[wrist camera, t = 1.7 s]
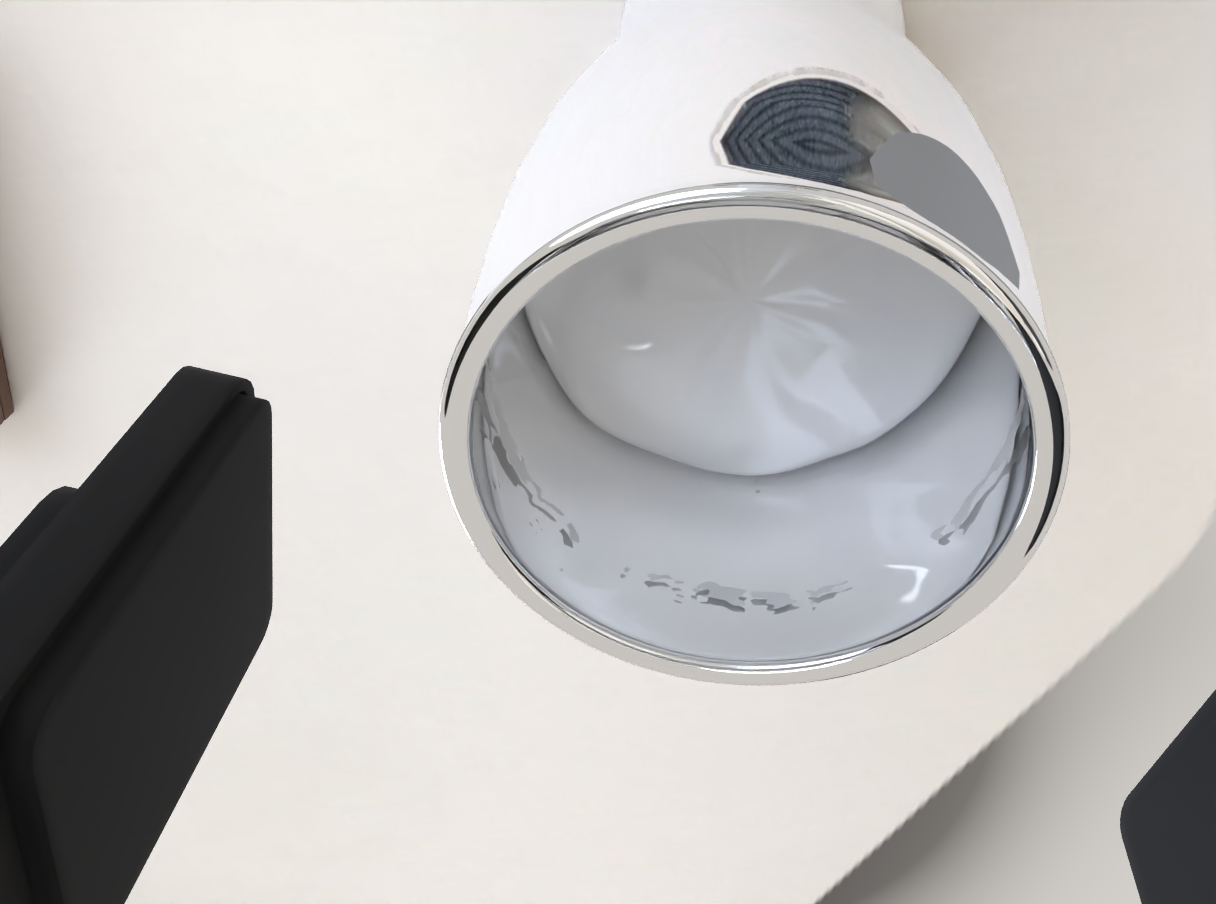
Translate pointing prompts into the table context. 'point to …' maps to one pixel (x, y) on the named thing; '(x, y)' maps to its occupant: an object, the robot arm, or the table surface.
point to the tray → (4, 393)
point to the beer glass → (756, 353)
